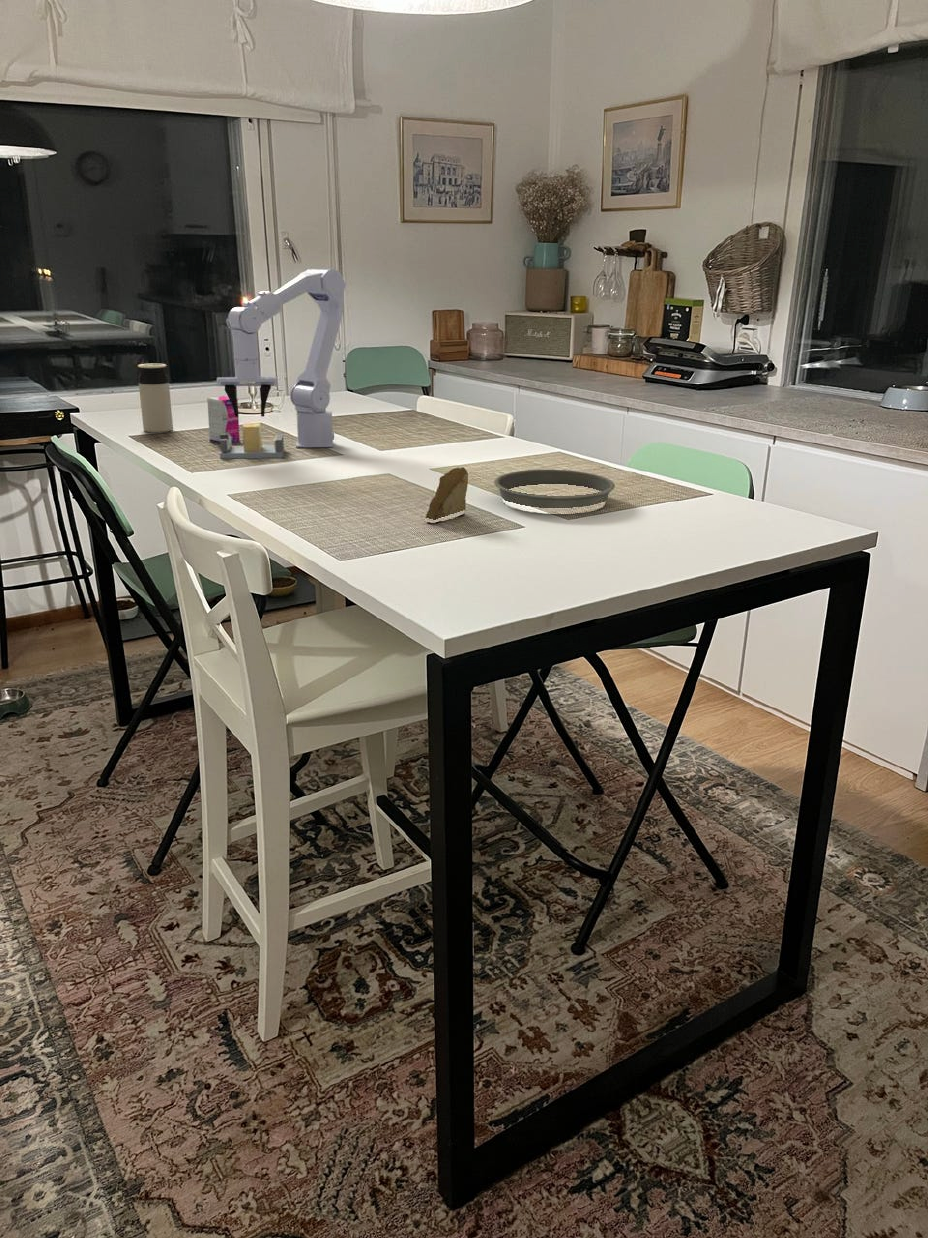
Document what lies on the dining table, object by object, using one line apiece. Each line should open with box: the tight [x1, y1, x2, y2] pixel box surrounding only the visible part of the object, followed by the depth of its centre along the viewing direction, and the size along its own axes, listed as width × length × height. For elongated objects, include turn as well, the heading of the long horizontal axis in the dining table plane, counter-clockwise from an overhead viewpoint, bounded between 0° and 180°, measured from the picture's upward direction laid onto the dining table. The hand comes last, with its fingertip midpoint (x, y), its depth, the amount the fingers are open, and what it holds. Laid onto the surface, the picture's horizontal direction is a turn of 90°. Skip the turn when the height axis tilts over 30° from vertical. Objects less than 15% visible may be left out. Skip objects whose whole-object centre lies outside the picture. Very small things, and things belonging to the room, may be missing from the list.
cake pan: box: [493, 469, 616, 508], centre depth 196 cm, size 25×25×4 cm
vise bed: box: [219, 433, 285, 459], centre depth 239 cm, size 15×10×4 cm, turn 98°
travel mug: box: [137, 363, 174, 433], centre depth 266 cm, size 8×8×18 cm
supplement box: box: [207, 395, 241, 444], centre depth 253 cm, size 6×6×12 cm
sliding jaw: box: [219, 433, 233, 452], centre depth 237 cm, size 2×9×4 cm, turn 8°
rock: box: [425, 466, 469, 520], centre depth 183 cm, size 11×9×10 cm
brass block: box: [241, 422, 263, 452], centre depth 238 cm, size 4×6×6 cm, turn 8°
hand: (249, 415), depth 236 cm, fingers open, 6 cm apart
